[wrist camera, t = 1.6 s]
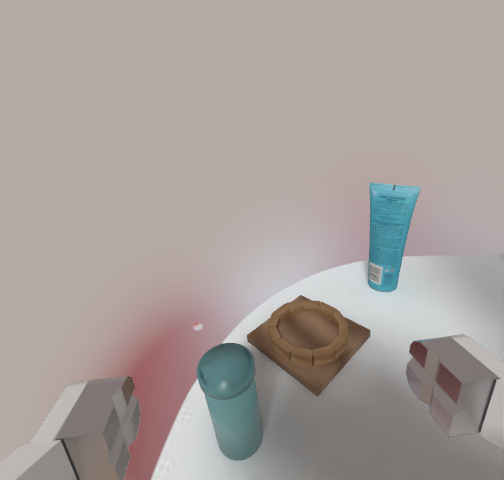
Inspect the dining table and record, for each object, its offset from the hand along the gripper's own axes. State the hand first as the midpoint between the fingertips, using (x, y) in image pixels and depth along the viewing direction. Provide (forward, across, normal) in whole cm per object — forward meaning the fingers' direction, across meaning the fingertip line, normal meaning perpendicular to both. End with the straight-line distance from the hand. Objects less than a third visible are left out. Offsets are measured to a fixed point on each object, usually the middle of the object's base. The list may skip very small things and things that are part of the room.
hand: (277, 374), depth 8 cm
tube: (+37, -27, +20) cm, 50 cm away
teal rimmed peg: (+15, +2, +24) cm, 29 cm away
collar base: (+27, -9, +22) cm, 36 cm away
